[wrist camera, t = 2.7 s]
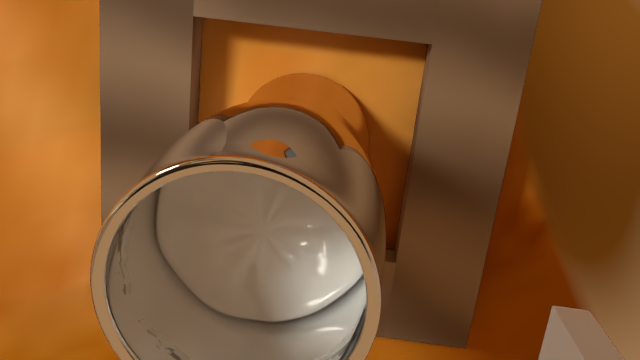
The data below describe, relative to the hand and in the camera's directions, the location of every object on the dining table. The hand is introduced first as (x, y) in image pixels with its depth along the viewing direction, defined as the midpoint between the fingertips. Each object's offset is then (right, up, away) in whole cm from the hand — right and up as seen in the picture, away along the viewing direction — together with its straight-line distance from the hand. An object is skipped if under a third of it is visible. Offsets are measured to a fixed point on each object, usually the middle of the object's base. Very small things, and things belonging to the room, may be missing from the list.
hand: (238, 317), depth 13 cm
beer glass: (+1, +5, +15) cm, 16 cm away
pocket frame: (+1, +5, +14) cm, 15 cm away
